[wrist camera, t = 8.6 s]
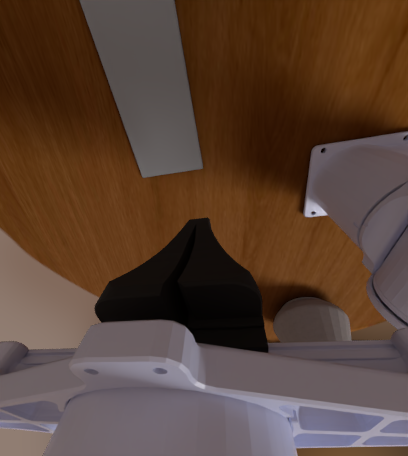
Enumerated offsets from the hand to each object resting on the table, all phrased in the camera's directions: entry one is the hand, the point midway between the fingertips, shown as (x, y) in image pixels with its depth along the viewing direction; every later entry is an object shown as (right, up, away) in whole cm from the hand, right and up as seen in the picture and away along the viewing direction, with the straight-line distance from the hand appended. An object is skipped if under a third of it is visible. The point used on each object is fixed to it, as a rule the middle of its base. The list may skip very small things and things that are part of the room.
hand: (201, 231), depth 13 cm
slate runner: (-5, +14, +3) cm, 16 cm away
